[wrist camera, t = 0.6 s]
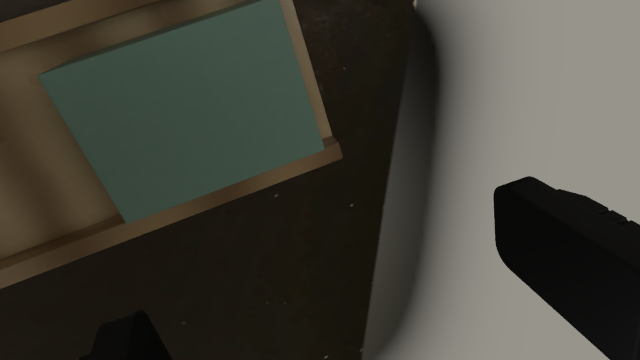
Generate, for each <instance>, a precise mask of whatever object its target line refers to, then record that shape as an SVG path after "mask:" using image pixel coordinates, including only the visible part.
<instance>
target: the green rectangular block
mask: <svg viewBox="0 0 640 360" xmlns="http://www.w3.org/2000/svg"><path fill="white" fill-rule="evenodd" d="M37 77H38V78H39V80H40V82H41V83H42V85H43V87H44V88H45V90H46V92H47V93H48V95H49V97H50V98H51V100H52V101H53V103H54V105H55V106H56V108H57V110H58V111H59V113H60V115H61V116H62V118H63V120H64V121H65V123H66V125H67V126H68V128H69V130H70V131H71V133H72V135H73V136H74V138H75V139H76V141H77V143H78V144H79V146H80V148H81V149H82V151H83V153H84V154H85V156H86V158H87V159H88V161H89V163H90V164H91V166H92V168H93V169H94V171H95V173H96V174H97V176H98V178H99V179H100V181H101V182H102V184H103V186H104V187H105V189H106V191H107V192H108V194H109V196H110V197H111V199H112V201H113V202H114V204H115V206H116V207H117V209H118V211H119V212H120V214H121V216H122V217H123V219H124V220H125V222H126V224H129V223H132V222H135V221H137V220H140V219H143V218H145V217H148V216H151V215H153V214H156V213H159V212H161V211H164V210H167V209H169V208H172V207H174V206H177V205H180V204H182V203H185V202H188V201H190V200H193V199H196V198H198V197H201V196H204V195H206V194H209V193H212V192H214V191H217V190H220V189H222V188H225V187H227V186H230V185H233V184H235V183H238V182H241V181H243V180H246V179H249V178H251V177H254V176H257V175H259V174H262V173H265V172H267V171H270V170H272V169H275V168H278V167H280V166H283V165H286V164H288V163H291V162H294V161H296V160H299V159H302V158H304V157H307V156H310V155H312V154H315V153H318V152H320V151H323V150H325V148H324V145H323V142H322V138H321V135H320V132H319V129H318V126H317V122H316V119H315V116H314V113H313V109H312V106H311V103H310V100H309V96H308V93H307V90H306V87H305V84H304V80H303V77H302V74H301V71H300V67H299V64H298V61H297V58H296V54H295V51H294V48H293V45H292V41H291V38H290V35H289V32H288V29H287V25H286V22H285V19H284V16H283V12H282V9H281V6H280V3H279V0H247V1H244V2H241V3H238V4H235V5H232V6H229V7H226V8H223V9H220V10H217V11H214V12H211V13H208V14H205V15H202V16H199V17H196V18H193V19H190V20H187V21H184V22H181V23H178V24H175V25H172V26H169V27H166V28H163V29H160V30H157V31H154V32H151V33H148V34H145V35H142V36H139V37H136V38H133V39H130V40H127V41H124V42H121V43H118V44H115V45H112V46H109V47H106V48H103V49H100V50H97V51H94V52H91V53H88V54H85V55H82V56H79V57H76V58H73V59H70V60H68V61H66V62H64V63H62V64H59V65H57V66H55V67H53V68H51V69H49V70H47V71H45V72H43V73H40V74H38V75H37Z"/></svg>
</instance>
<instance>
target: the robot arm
mask: <svg viewBox="0 0 640 360" xmlns="http://www.w3.org/2000/svg"><path fill="white" fill-rule="evenodd" d="M494 218H495V241H496V247H497V250H498V253H499V255H500V257H501V259H502V261H503V262H504V263H505V265H506V266H507V267H508V268H509V269H510V270H511V271H512V272H513V273H515V274H516V275H517V276H518V277H519V278H520V279H521V280H522V281H523V282H524V283H526V284H527V285H528V286H529V287H530V288H531V289H532V290H533V291H535V292H536V293H537V294H538V295H539V296H540V297H541V298H542V299H543V300H544V301H546V302H547V303H548V304H549V305H550V306H551V307H552V308H553V309H554V310H556V311H557V312H558V313H559V314H560V315H561V316H562V317H563V318H564V319H566V320H567V321H568V322H569V323H570V324H571V325H572V326H573V327H574V328H576V329H577V330H578V331H579V332H580V333H581V334H582V335H583V336H585V338H587V339H588V340H589V341H590V342H591V343H592V344H593V345H594V346H596V347H597V348H598V349H599V350H600V351H601V352H602V353H603V354H604V355H605V356H607V357H608V358H609V359H610V360H640V225H639V224H637V223H635V222H634V221H628V220H627V219H626V217H624V216H622V215H620V214H618V213H616V212H615V211H613V210H612V211H609V210H608V208H607V207H605V206H603V205H602V204H600V203H598V202H596V201H594V200H592V199H590V198H588V197H586V196H583V195H579V194H576V193H572V192H568V191H564V190H561V189H558V190H556V189H554V188H552V187H550V186H548V185H547V184H545V183H543V182H541V181H539V180H538V179H536V178H534V177H530V176H529V177H525V178H522V179H519V180H516V181H513V182H510V183H508V184H505V185H502V186H499V187H497V188H496V189H495V191H494ZM78 360H172V358H171V356H170V355H169V353H168V351H167V349H166V347H165V346H164V344H163V342H162V340H161V339H160V337H159V335H158V333H157V331H156V330H155V328H154V326H153V324H152V323H151V321H150V319H149V317H148V316H147V314H146V313H145V312H144V311H143V310H137V311H134V312H131V313H128V314H125V315H123V316H120V317H117V318H114V319H111V320H108V321H105V322H103V323H101V325H100V326H99V328H98V331H97V335H96V338H95V341H94V344H93V347H92V351H91V354H89V355H86V356H83V357H80V358H79V359H78Z"/></svg>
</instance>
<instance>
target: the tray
mask: <svg viewBox="0 0 640 360" xmlns="http://www.w3.org/2000/svg"><path fill="white" fill-rule="evenodd" d="M244 1H247V0H70V1H67V2H64V3H61V4H58V5H54V6H51V7H48V8H45V9H42V10H39V11H36V12H32V13H29V14H26V15H23V16H20V17H17V18H14V19H10V20H7V21H4V22H1V23H0V289H1V288H4V287H6V286H9V285H12V284H14V283H17V282H20V281H22V280H25V279H27V278H30V277H33V276H35V275H38V274H41V273H43V272H46V271H48V270H51V269H54V268H56V267H59V266H62V265H64V264H67V263H69V262H72V261H75V260H77V259H80V258H83V257H85V256H88V255H90V254H93V253H96V252H98V251H101V250H103V249H106V248H109V247H111V246H114V245H117V244H119V243H122V242H124V241H127V240H130V239H132V238H135V237H138V236H140V235H143V234H145V233H148V232H151V231H153V230H156V229H159V228H161V227H164V226H166V225H169V224H172V223H174V222H177V221H180V220H182V219H185V218H187V217H190V216H193V215H195V214H198V213H200V212H203V211H206V210H208V209H211V208H214V207H216V206H219V205H221V204H224V203H227V202H229V201H232V200H235V199H237V198H240V197H242V196H245V195H248V194H250V193H253V192H256V191H258V190H261V189H263V188H266V187H269V186H271V185H274V184H277V183H279V182H282V181H284V180H287V179H290V178H292V177H295V176H297V175H300V174H303V173H305V172H308V171H311V170H313V169H316V168H318V167H321V166H324V165H326V164H329V163H332V162H334V161H337V160H339V159H342V158H343V156H342V153H341V149H340V146H339V143H338V142H337V140H336V139H335V138H334V137H333V136H332V133H331V130H330V126H329V123H328V120H327V116H326V113H325V109H324V106H323V103H322V99H321V96H320V93H319V89H318V86H317V82H316V79H315V76H314V72H313V69H312V65H311V62H310V59H309V55H308V52H307V49H306V45H305V42H304V38H303V35H302V32H301V28H300V25H299V21H298V18H297V15H296V11H295V8H294V5H293V1H292V0H279V3H280V6H281V9H282V12H283V16H284V19H285V22H286V25H287V29H288V32H289V35H290V38H291V41H292V45H293V48H294V51H295V54H296V58H297V61H298V64H299V67H300V71H301V74H302V77H303V80H304V84H305V87H306V90H307V93H308V96H309V100H310V103H311V106H312V109H313V113H314V116H315V119H316V122H317V126H318V129H319V132H320V135H321V138H322V142H323V145H324V148H325V150H323V151H320V152H318V153H315V154H312V155H310V156H307V157H304V158H302V159H299V160H296V161H294V162H291V163H288V164H286V165H283V166H280V167H278V168H275V169H272V170H270V171H267V172H265V173H262V174H259V175H257V176H254V177H251V178H249V179H246V180H243V181H241V182H238V183H235V184H233V185H230V186H227V187H225V188H222V189H220V190H217V191H214V192H212V193H209V194H206V195H204V196H201V197H198V198H196V199H193V200H190V201H188V202H185V203H182V204H180V205H177V206H174V207H172V208H169V209H167V210H164V211H161V212H159V213H156V214H153V215H151V216H148V217H145V218H143V219H140V220H137V221H135V222H132V223H129V224H126V222H125V220H124V219H123V217H122V216H121V214H120V212H119V211H118V209H117V207H116V206H115V204H114V202H113V201H112V199H111V197H110V196H109V194H108V192H107V191H106V189H105V187H104V186H103V184H102V182H101V181H100V179H99V178H98V176H97V174H96V173H95V171H94V169H93V168H92V166H91V164H90V163H89V161H88V159H87V158H86V156H85V154H84V153H83V151H82V149H81V148H80V146H79V144H78V143H77V141H76V139H75V138H74V136H73V135H72V133H71V131H70V130H69V128H68V126H67V125H66V123H65V121H64V120H63V118H62V116H61V115H60V113H59V111H58V110H57V108H56V106H55V105H54V103H53V101H52V100H51V98H50V97H49V95H48V93H47V92H46V90H45V88H44V87H43V85H42V83H41V82H40V80H39V78H38V77H37V75H38V74H40V73H43V72H45V71H47V70H49V69H51V68H53V67H55V66H57V65H59V64H62V63H64V62H66V61H68V60H70V59H73V58H76V57H79V56H82V55H85V54H88V53H91V52H94V51H97V50H100V49H103V48H106V47H109V46H112V45H115V44H118V43H121V42H124V41H127V40H130V39H133V38H136V37H139V36H142V35H145V34H148V33H151V32H154V31H157V30H160V29H163V28H166V27H169V26H172V25H175V24H178V23H181V22H184V21H187V20H190V19H193V18H196V17H199V16H202V15H205V14H208V13H211V12H214V11H217V10H220V9H223V8H226V7H229V6H232V5H235V4H238V3H241V2H244Z"/></svg>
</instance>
